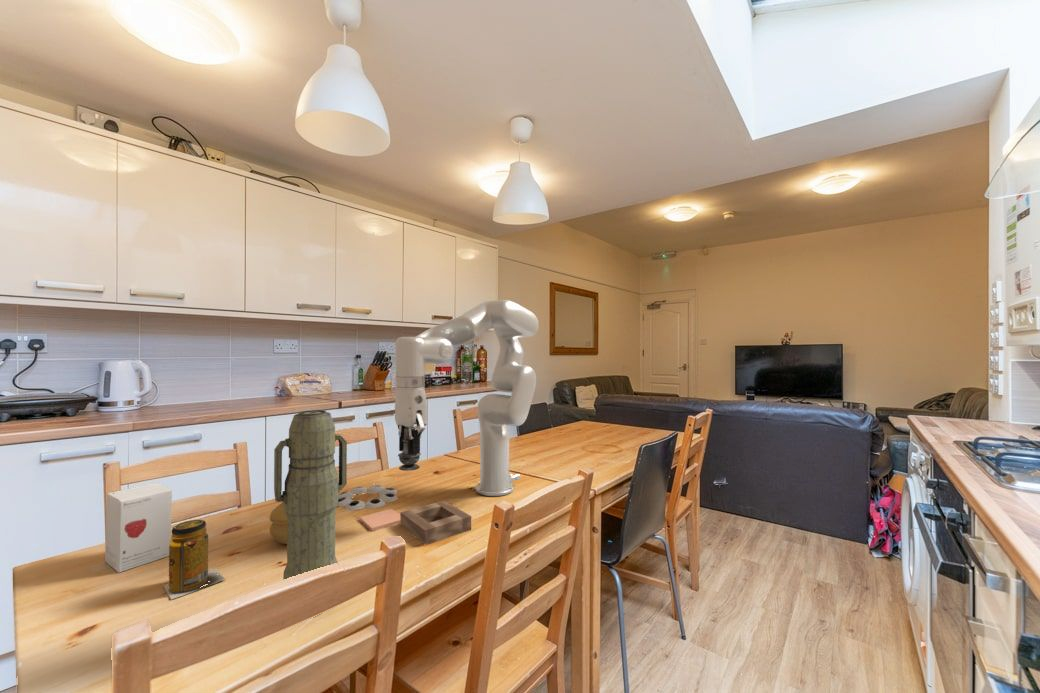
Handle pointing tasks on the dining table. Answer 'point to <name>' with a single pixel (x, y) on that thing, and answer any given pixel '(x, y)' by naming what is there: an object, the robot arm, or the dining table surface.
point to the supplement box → (138, 526)
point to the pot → (279, 524)
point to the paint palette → (368, 504)
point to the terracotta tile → (380, 519)
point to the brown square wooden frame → (435, 522)
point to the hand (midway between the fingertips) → (409, 451)
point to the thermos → (310, 490)
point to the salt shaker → (405, 457)
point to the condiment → (189, 560)
